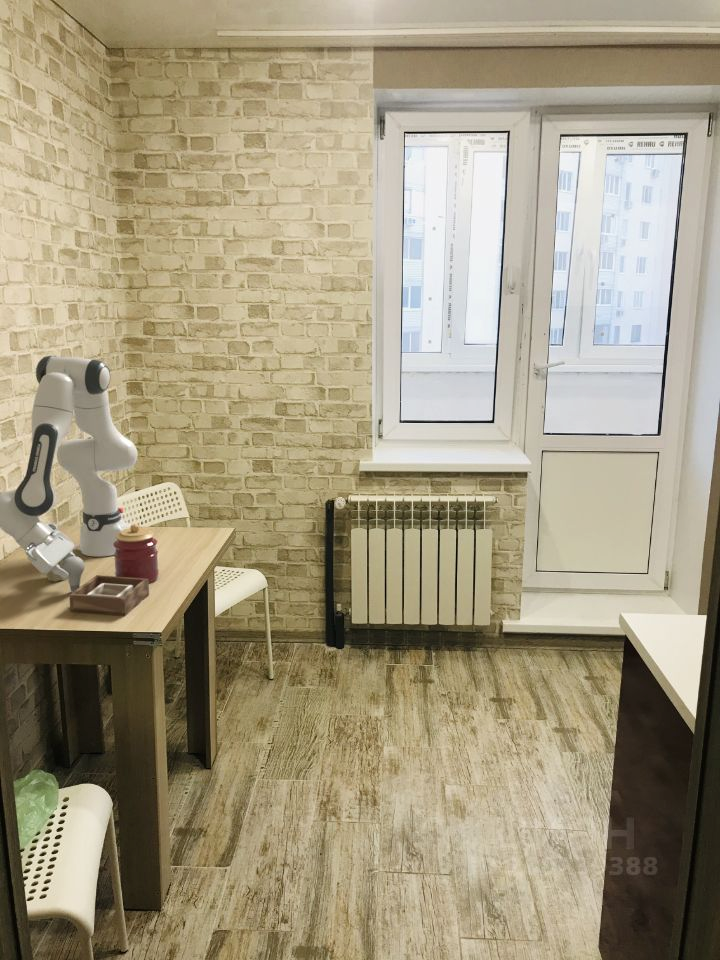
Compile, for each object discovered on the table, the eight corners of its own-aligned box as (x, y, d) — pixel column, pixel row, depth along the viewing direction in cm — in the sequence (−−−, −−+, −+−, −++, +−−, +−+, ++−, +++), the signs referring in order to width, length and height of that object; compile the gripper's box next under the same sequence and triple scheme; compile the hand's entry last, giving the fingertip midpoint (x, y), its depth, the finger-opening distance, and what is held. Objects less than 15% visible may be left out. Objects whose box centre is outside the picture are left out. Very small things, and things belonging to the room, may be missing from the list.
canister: (114, 588, 234) (111, 531, 230) (115, 573, 246) (112, 519, 242) (159, 584, 238) (157, 528, 234) (158, 570, 250) (156, 517, 246)
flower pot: (38, 584, 236) (36, 557, 234) (45, 573, 245) (43, 547, 243) (71, 583, 238) (69, 556, 236) (77, 572, 247) (75, 546, 245)
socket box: (97, 591, 231) (96, 575, 230) (149, 594, 229) (148, 578, 228) (70, 611, 216) (69, 594, 215) (125, 616, 214) (124, 598, 213)
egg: (74, 587, 234) (72, 552, 232) (90, 590, 232) (88, 555, 230) (59, 594, 229) (57, 558, 226) (76, 597, 226) (73, 561, 224)
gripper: (30, 542, 216) (68, 576, 218) (56, 522, 236) (91, 553, 238) (15, 557, 217) (53, 591, 219) (42, 536, 237) (77, 567, 239)
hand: (73, 571), depth 229 cm, fingers open, 8 cm apart
